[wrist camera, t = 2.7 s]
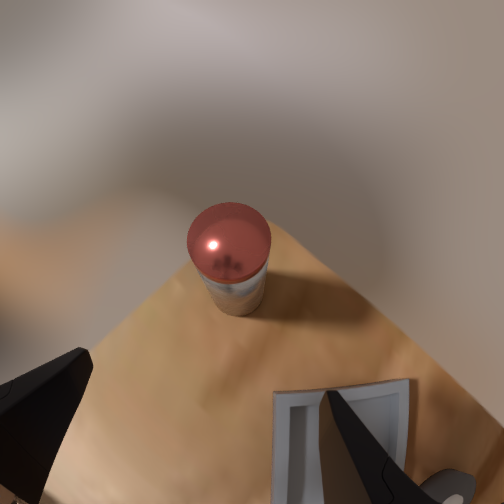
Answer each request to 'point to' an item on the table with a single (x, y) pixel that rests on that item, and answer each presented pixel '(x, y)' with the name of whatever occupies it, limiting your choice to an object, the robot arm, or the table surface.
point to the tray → (307, 434)
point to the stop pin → (231, 255)
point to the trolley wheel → (450, 487)
